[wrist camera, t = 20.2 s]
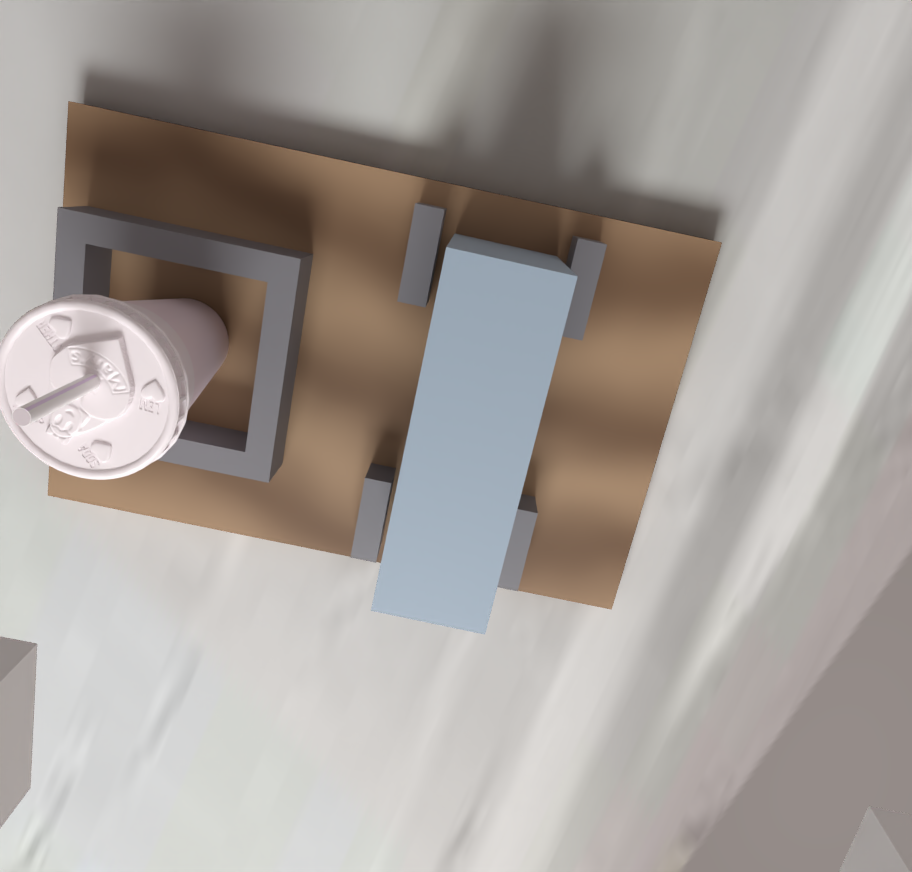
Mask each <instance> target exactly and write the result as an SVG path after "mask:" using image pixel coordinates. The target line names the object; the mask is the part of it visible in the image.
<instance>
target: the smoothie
mask: <svg viewBox="0 0 912 872" xmlns="http://www.w3.org/2000/svg"><path fill="white" fill-rule="evenodd" d="M228 347H229V338H228V333H227V330H226V327H225V325H224V323H223V321H222V319H221V318H220V317H219V315H218V314H217V313H216V312H215V311H214V310H213V309H212V308H210V307H209V306H207V305H206V304H204V303H202V302H200V301H197V300H193V299H188V298H179V299H157V300H135V301H119V300H116V299H112V298H108V297H105V296H101V295H85V294H73V295H69V296H65V297H62V298H58V299H54V300H51V301H49V302H47V303H45V304H43V305H40V306H38V307H35V308H34V309H32V310H30V311H28V312H27V313H26V314H24V315H23V316H21V317H20V318H19V319H18V320H17V321H16V322H15V323H14V324H13V325H12V326H11V328H10V329H9V330H8V332H7V333H6V335H5V336H4V338H3V340H2V342H1V344H0V409H1V412H2V414H3V416H4V418H5V420H6V422H7V424H8V426H9V427H10V429H11V430H12V432H13V433H14V435H15V436H16V437H17V438H18V440H19V441H20V442H21V443H22V444H23V445H24V446H25V447H26V448H27V449H28V450H29V451H30V452H31V453H32V454H33V455H34V456H36V457H37V458H39V459H40V460H41V461H43V462H44V463H46V464H48V465H49V466H51V467H53V468H55V469H57V470H59V471H61V472H64V473H66V474H69V475H72V476H76V477H80V478H85V479H94V480H107V479H115V478H120V477H124V476H128V475H130V474H133V473H135V472H137V471H139V470H141V469H143V468H145V467H146V466H148V465H149V464H151V463H152V462H154V461H156V460H158V459H159V458H161V457H162V456H163V455H164V454H165V453H166V452H167V451H168V450H169V449H170V448H171V447H172V446H173V445H174V444H175V442H176V441H177V439H178V437H179V435H180V433H181V431H182V429H183V427H184V425H185V423H186V419H187V414H188V410H189V408H190V407H191V406H192V404H193V403H194V402H195V400H196V399H197V398H198V396H199V395H200V394H201V392H202V391H203V390H204V388H205V387H206V386H207V384H208V383H209V381H210V380H211V379H212V377H213V376H214V375H215V373H216V372H217V371H218V369H219V368H220V367H221V365H222V364H223V362H224V361H225V359H226V356H227V353H228Z"/></svg>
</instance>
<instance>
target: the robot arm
mask: <svg viewBox="0 0 912 872" xmlns="http://www.w3.org/2000/svg"><path fill="white" fill-rule="evenodd" d="M36 659H37V644H36V643H31V642H26V641H21V640H16V639H10V638H5V637H0V828H1V827H2V825H3V824H4V823H5V821H6V820H7V819H8V817H9V816H10V815H11V813H12V812H13V811H14V809H15V808H16V807H17V805H18V804H19V803H20V801H21V800H22V799H23V797H24V796H25V795H26V793H27V792H28V790H29V789H30V785H31V764H32V743H33V722H34V701H35V680H36ZM839 872H912V814H907V813H903V812H897V811H892V810H887V809H882V808H877V807H872V806H869V808H868V810H867V812H866V814H865V816H864V818H863V821H862V823H861V825H860V827H859V829H858V832H857V834H856V836H855V838H854V840H853V842H852V845H851V847H850V849H849V851H848V853H847V856H846V858H845V860H844V862H843V864H842V866H841V869H840V871H839Z"/></svg>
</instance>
